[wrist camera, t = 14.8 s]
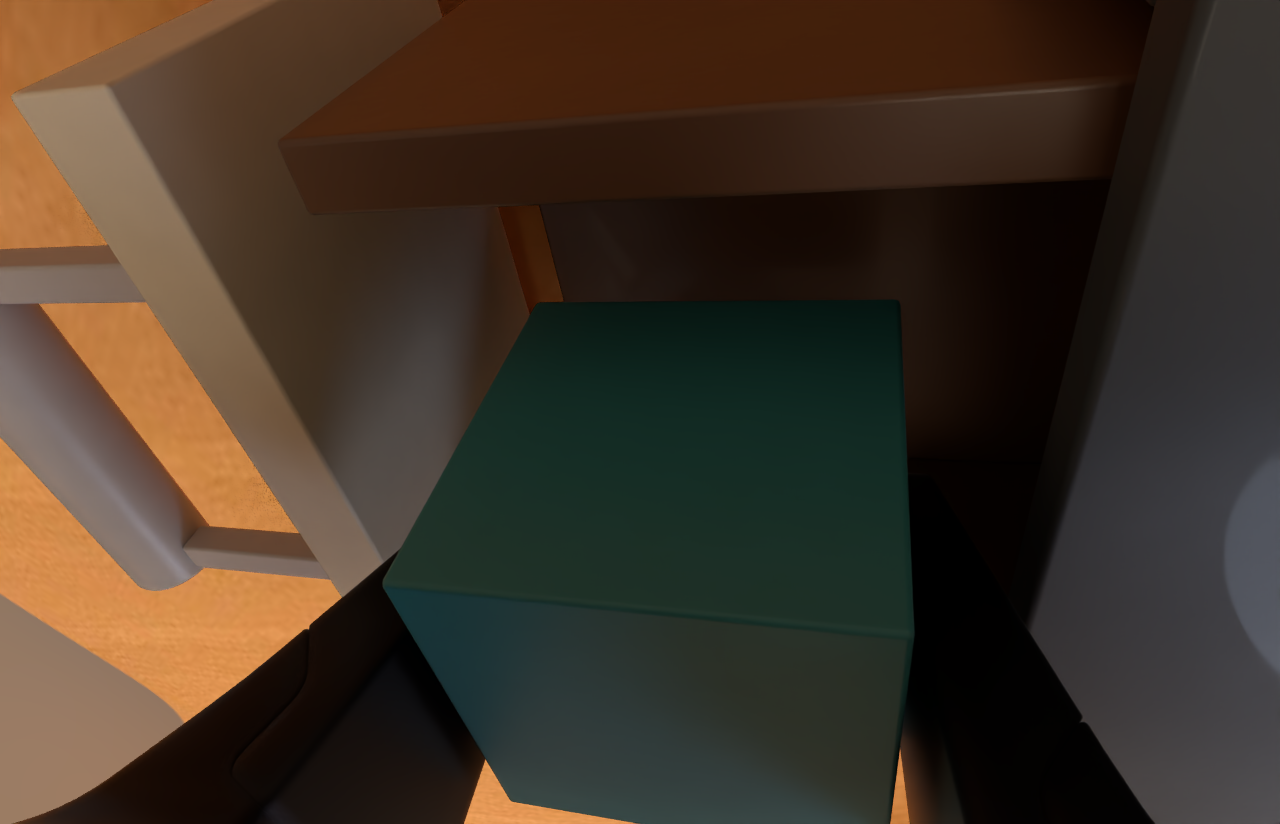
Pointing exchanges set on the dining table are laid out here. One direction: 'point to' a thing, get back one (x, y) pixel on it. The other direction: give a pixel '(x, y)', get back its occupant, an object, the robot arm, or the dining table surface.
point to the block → (679, 563)
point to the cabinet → (1176, 435)
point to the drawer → (550, 230)
